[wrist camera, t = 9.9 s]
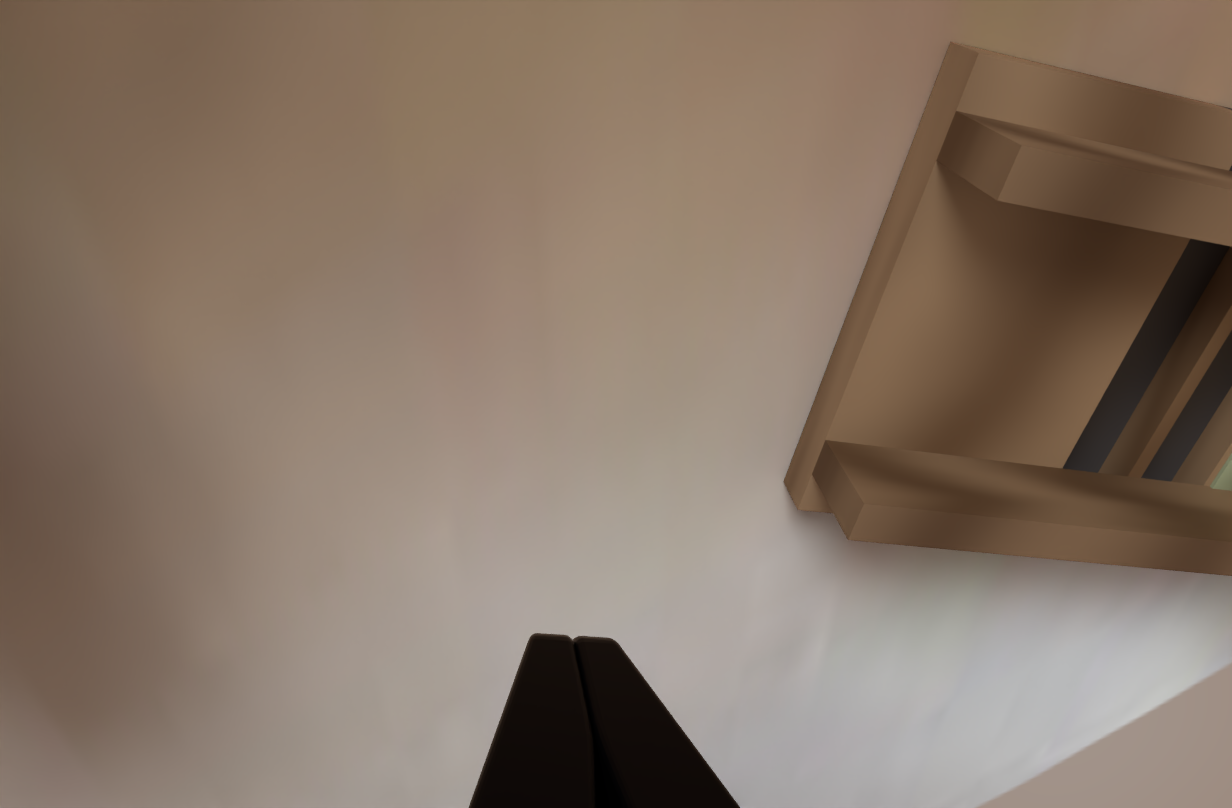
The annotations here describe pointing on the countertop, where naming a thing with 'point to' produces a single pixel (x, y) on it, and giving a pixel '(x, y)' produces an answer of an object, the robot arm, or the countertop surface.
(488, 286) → the countertop surface
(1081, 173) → the board
